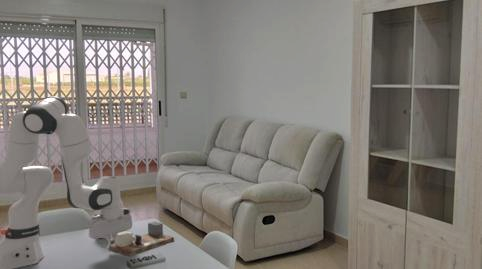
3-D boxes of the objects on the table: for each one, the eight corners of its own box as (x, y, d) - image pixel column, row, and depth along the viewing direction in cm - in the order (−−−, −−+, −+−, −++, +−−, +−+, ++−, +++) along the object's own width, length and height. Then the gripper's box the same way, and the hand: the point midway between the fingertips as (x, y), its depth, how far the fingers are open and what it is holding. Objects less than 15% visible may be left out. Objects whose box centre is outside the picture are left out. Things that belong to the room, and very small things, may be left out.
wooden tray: (128, 255, 198) (128, 251, 197) (109, 249, 206) (109, 245, 206) (173, 240, 218) (173, 236, 218) (154, 234, 226) (154, 231, 226)
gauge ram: (125, 248, 202) (124, 237, 202) (114, 245, 207) (114, 234, 206) (139, 243, 208) (139, 232, 208) (129, 240, 213) (129, 229, 213)
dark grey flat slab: (142, 246, 205) (142, 237, 204) (135, 243, 208) (134, 235, 208) (144, 245, 206) (144, 236, 205) (137, 243, 209) (136, 234, 209)
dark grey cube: (156, 236, 218) (156, 225, 218) (148, 234, 222) (147, 223, 222) (162, 234, 222) (162, 223, 221) (154, 232, 225) (154, 221, 225)
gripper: (93, 219, 191) (95, 251, 192) (133, 209, 207) (134, 239, 208) (85, 216, 195) (86, 248, 196) (125, 207, 211) (126, 236, 212)
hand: (111, 243), depth 202 cm, fingers closed
